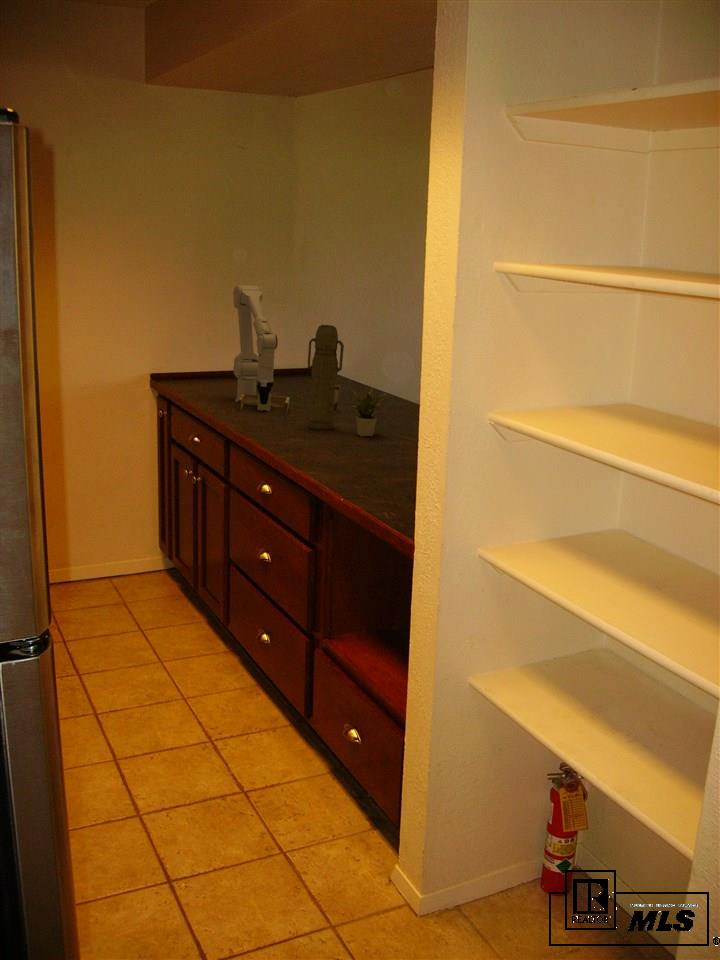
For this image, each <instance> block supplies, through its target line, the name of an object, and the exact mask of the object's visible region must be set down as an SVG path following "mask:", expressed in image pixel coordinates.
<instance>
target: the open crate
mask: <svg viewBox="0 0 720 960" xmlns="http://www.w3.org/2000/svg"><path fill="white" fill-rule="evenodd" d="M290 398H291V397H290V396H281V395H271V406H272V407H274V408H283V410H284V411H283V415H288V412H289V410H288V409H290V401H291V400H290ZM244 404H246V405H244ZM256 405H258V394H256V395H254V394H242V395H241V397H240V398H239V399H238V402H237V412H242V410H243V407H244V406H256ZM272 407H271V408H272ZM241 409H242V410H241Z"/></svg>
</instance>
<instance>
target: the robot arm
mask: <svg viewBox="0 0 720 960" xmlns="http://www.w3.org/2000/svg"><path fill="white" fill-rule="evenodd" d="M232 294H233V295H232V296H233V305H234V306H233V307H234V308H235V309H237V314H238V317H237V318H238V329H239V344H240V352H239V354H238V355H236V356H234V359H233V369H232V370H233V374H234V376H235V378H237V392H236V393H237V394H236V395H237V396H236V398H235V400H234V402H236V403H238V399H239V398H240V397H241V395H242V394H254V395H257V391H258V393H259V396H260V403H261V404H267V401H268V396H269V393H271V390H272V387H273V386H274V371H275V370H274V369H275V368H274V367H275V351H276V350H277V348H278V343H279V341H278V335H277V334H276V333H275V332H274V331H273V330H272V328H271V324H270V322H269V319H268V318H267V317H265V316H264V315H265V314H264V311H263V307H262V300H263V296H264V293H263V288H262V286H260V285H248V284H247V285H245V284H243V285H241V284H237V285H236V286H234V289H233V293H232ZM252 317H253V319H254V320H253V319H252ZM253 327H254V331H255V334H256V337H257V338H256V340H255V341H256V347H257V351H256V352H257V353H255V351H254V336H253V335H254V334H253ZM257 381H258V383H257Z"/></svg>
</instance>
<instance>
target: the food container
mask: <svg viewBox="0 0 720 960" xmlns="http://www.w3.org/2000/svg"><path fill="white" fill-rule="evenodd" d="M340 392H341V384H335V395H334V411H337V412H338V408H339V405H338V404H339V399H340Z"/></svg>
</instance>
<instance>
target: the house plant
mask: <svg viewBox="0 0 720 960" xmlns="http://www.w3.org/2000/svg"><path fill="white" fill-rule="evenodd" d="M364 388H365V389H364V390H365V395H364V396H362V397H360V395H359V393H357V392H356V390H355V391H354V390H352V392H353V393H354V395H355V396H354V398H355V399H356V401H357V405H352V406H350V408H352V407H353V408H355V409H356V410H357V411H358V413H359V415H356V416H355V417H356V428H357V429H356V431H357V435H358V436H359V435H360V437H364V436H371V437H373V436H374V432H375V430H376V429H375V428H376V425H377V420H378V417H377V416H374V415H372V414H373V413H374V411H376V410H378V409H379V410H384V409H385V408H388V407H385V406H384V407H379V405H380V403H378V402H379V401H380V400H381V401H382V400H383V398H382V397H384V396H386V395H387V392H384V393H381V394H379V395H378V396H377V397H375V398H374V399H373V397H374V395H373V394H374V393H373V391H374V390H373V387H371V389H370V391H368V390H367V388H366V387H364Z"/></svg>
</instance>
